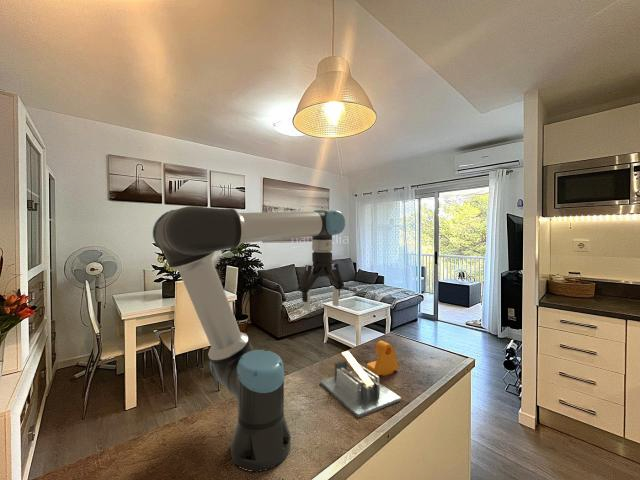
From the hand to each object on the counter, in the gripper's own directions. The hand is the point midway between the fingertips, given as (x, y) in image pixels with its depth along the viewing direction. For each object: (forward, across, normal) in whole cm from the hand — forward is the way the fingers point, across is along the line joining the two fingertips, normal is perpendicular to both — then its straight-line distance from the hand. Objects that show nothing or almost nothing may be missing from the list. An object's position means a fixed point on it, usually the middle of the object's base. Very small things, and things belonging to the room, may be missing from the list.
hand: (321, 308), depth 104 cm
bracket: (+28, +26, -7) cm, 39 cm away
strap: (+21, +7, -12) cm, 25 cm away
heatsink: (+28, +7, -13) cm, 32 cm away
